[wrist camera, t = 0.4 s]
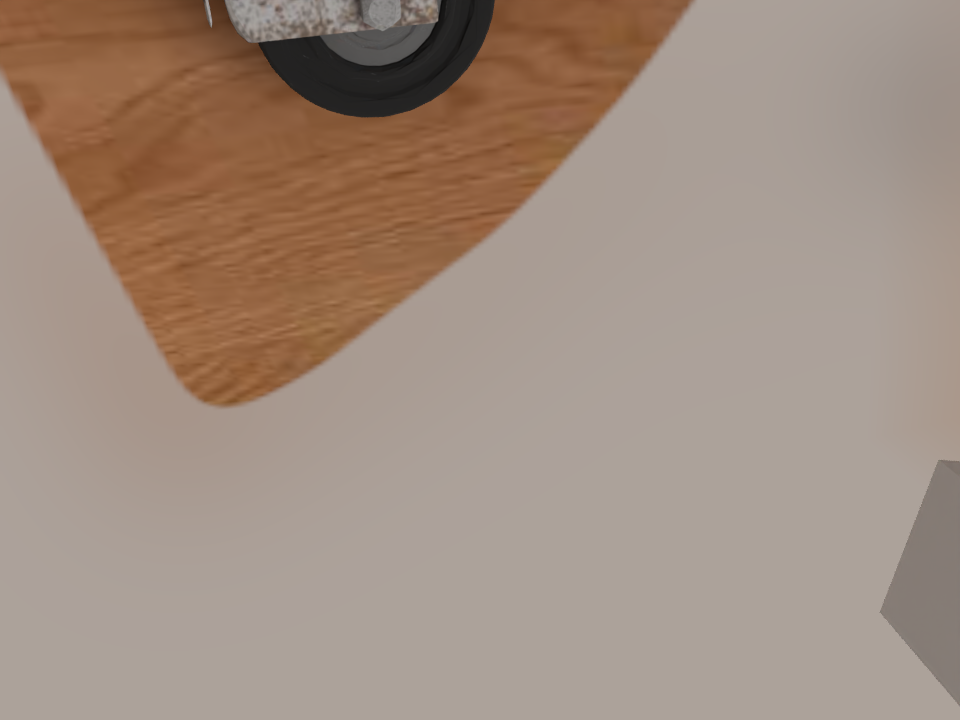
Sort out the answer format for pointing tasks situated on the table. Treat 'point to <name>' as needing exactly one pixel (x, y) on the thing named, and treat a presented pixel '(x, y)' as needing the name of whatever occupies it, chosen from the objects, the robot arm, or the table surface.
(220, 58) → the table surface
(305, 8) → the caster wheel
